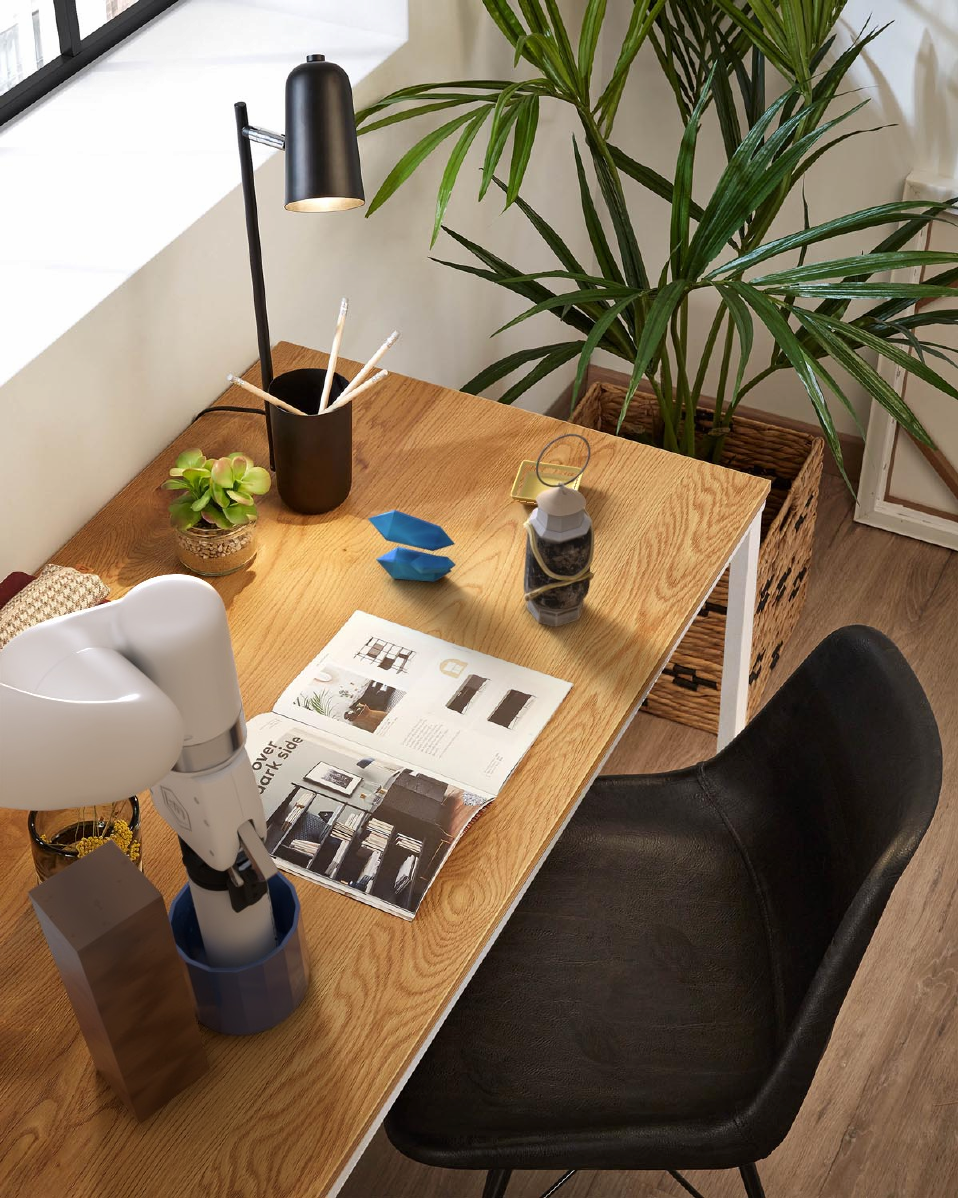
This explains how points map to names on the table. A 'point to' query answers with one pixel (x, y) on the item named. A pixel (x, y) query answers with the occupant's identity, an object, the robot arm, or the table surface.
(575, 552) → the lantern
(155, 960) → the plinth
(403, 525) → the blue crystals
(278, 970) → the crock
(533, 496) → the yellow basket
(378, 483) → the table surface
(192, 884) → the travel mug
